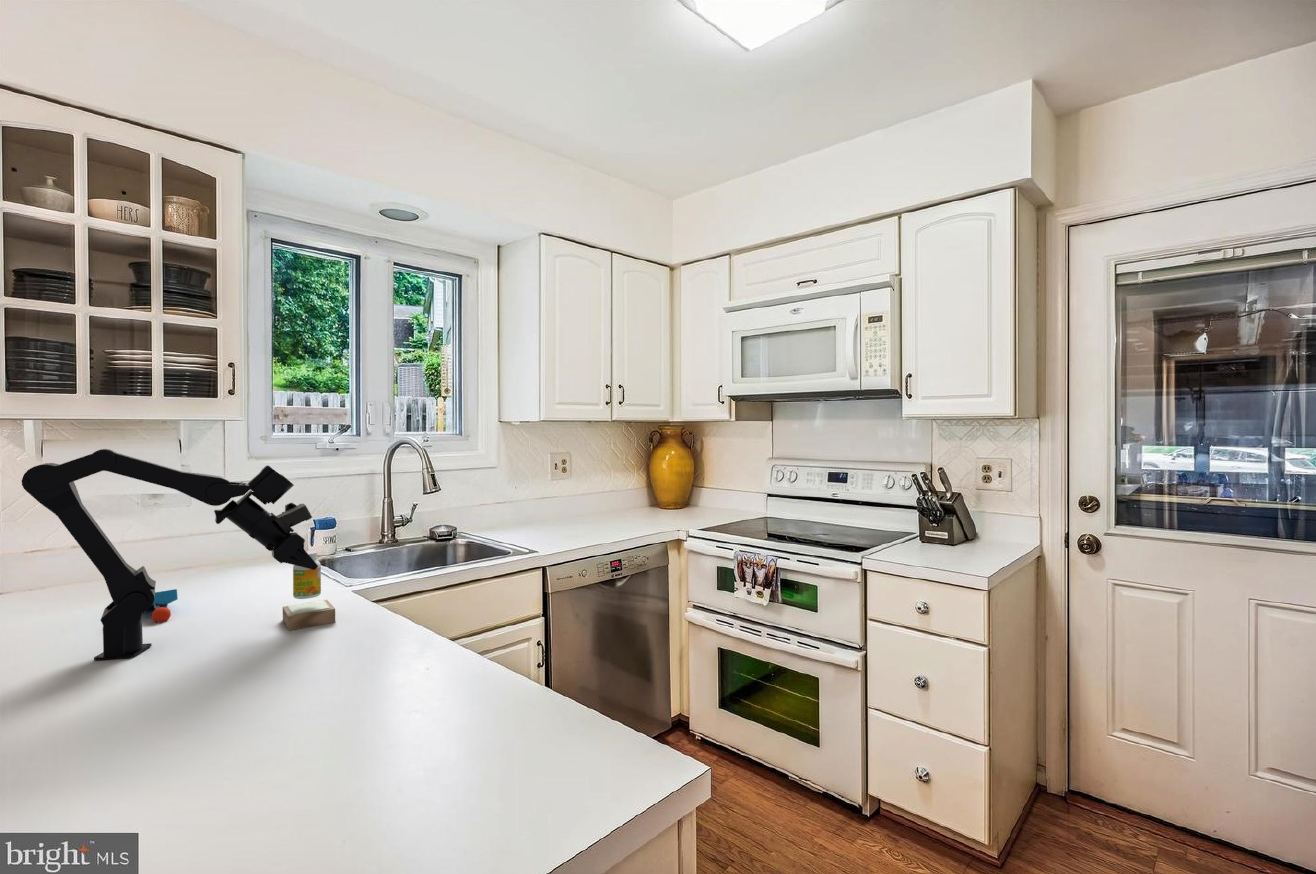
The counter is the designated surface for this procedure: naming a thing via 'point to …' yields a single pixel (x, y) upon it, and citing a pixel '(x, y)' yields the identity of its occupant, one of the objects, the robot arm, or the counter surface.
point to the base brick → (308, 614)
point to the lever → (162, 599)
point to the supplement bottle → (307, 580)
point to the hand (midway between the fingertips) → (314, 565)
